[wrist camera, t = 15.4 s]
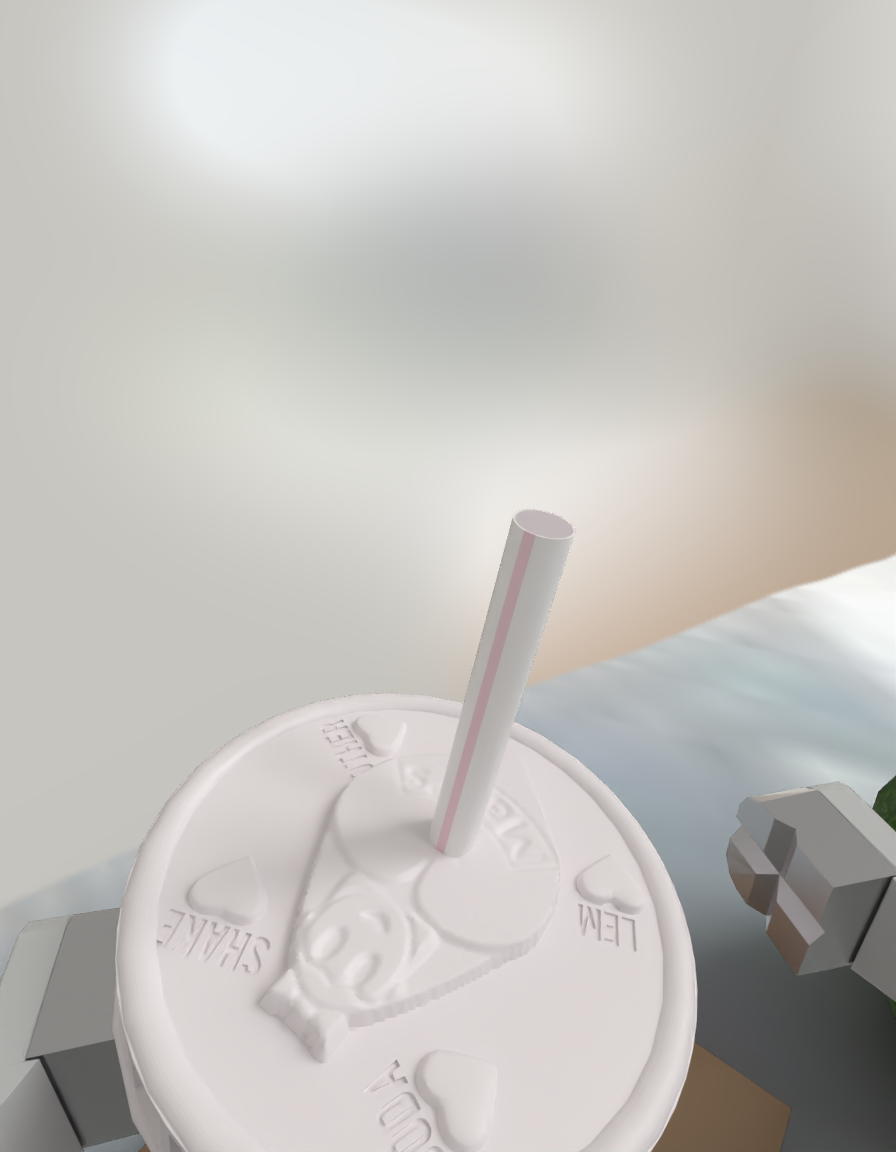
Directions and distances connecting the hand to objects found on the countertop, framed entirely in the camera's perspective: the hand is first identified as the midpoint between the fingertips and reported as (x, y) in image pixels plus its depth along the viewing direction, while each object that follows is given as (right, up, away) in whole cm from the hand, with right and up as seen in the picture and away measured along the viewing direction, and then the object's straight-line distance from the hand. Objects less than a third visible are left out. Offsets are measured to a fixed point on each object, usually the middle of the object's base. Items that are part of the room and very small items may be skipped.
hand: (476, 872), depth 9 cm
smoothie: (-3, -8, +3) cm, 9 cm away
